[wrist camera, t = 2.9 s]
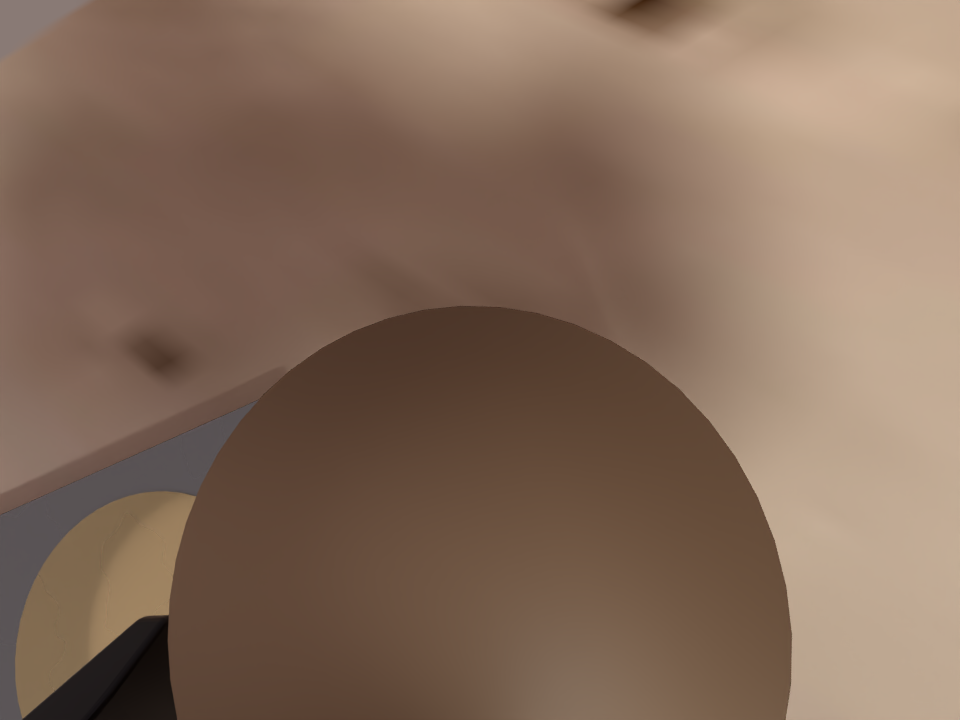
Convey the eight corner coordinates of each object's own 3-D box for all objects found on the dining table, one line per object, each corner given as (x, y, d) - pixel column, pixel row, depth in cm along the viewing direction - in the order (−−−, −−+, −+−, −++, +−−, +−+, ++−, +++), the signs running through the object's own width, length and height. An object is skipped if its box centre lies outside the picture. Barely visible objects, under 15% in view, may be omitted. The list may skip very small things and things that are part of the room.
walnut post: (626, 752, 16) (515, 1339, 4) (425, 570, 18) (-30, 656, 6) (793, 534, 16) (1101, 558, 5) (576, 374, 18) (405, 101, 6)
